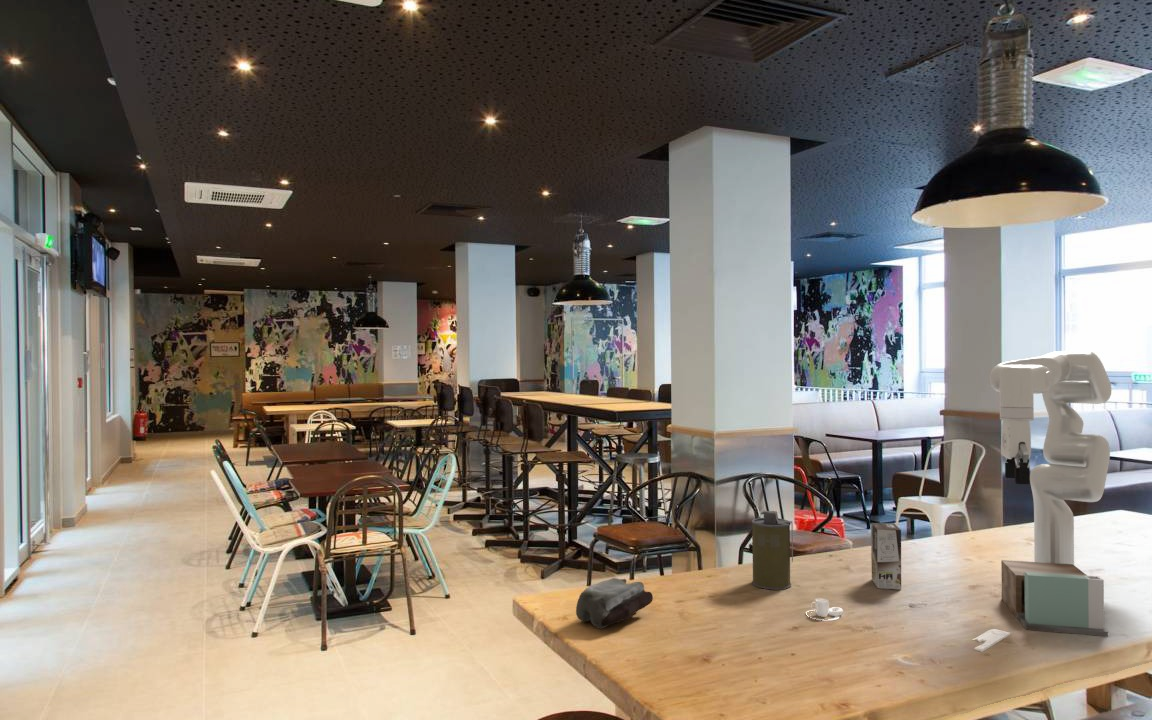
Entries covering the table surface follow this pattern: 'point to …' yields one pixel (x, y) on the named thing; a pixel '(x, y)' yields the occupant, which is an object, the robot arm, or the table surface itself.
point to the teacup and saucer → (825, 609)
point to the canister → (771, 551)
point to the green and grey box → (1064, 600)
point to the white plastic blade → (990, 639)
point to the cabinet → (1016, 592)
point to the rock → (611, 601)
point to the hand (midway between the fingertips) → (1017, 480)
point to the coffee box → (886, 555)
